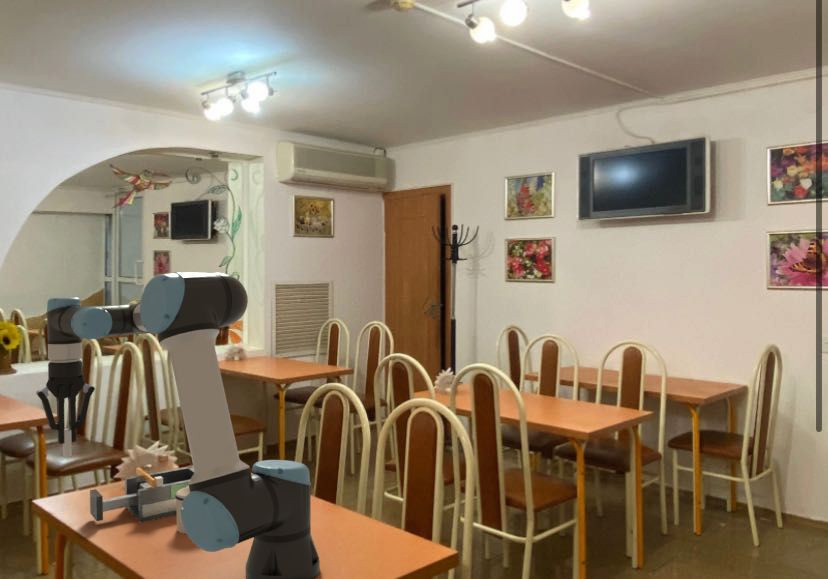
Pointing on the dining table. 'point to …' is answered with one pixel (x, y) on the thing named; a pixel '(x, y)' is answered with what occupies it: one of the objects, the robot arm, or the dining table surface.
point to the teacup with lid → (179, 499)
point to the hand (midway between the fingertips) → (67, 455)
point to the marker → (158, 481)
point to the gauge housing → (158, 493)
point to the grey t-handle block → (117, 498)
